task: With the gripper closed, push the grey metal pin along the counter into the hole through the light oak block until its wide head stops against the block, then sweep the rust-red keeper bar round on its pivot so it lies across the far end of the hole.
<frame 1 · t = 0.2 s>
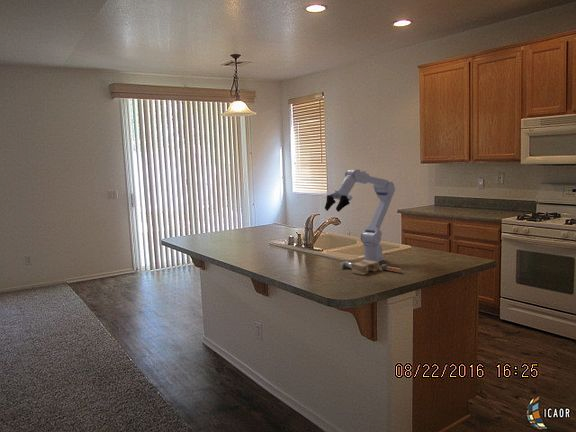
hand: (331, 209, 233), 30 cm above the countertop, tool tilted 45°, fingers open, 7 cm apart
keeper: (391, 268, 230), point 1 cm above the countertop, hinge at 90.0°
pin: (344, 267, 244), on the countertop
block: (365, 271, 233), on the countertop
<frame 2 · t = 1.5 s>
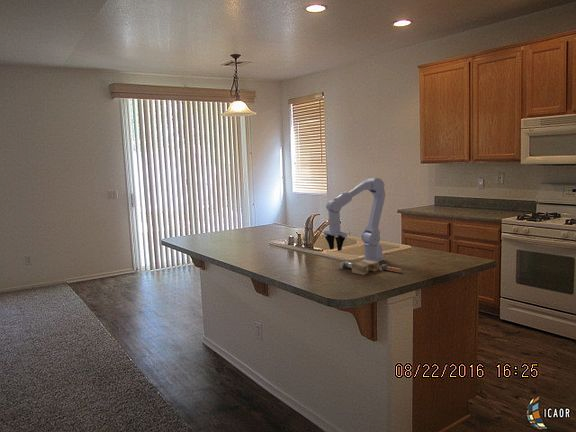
hand: (335, 249, 247), 8 cm above the countertop, tool pointing down, fingers open, 5 cm apart
nothing on the countertop moved.
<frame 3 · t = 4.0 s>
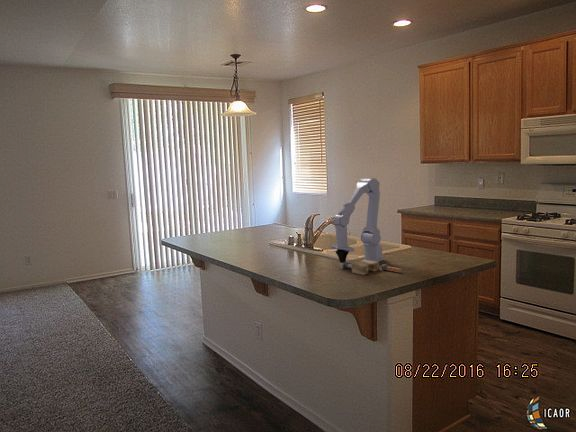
hand: (342, 264, 244), 1 cm above the countertop, tool pointing down, fingers closed
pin: (344, 267, 244), on the countertop, touching gripper
everything else where it was.
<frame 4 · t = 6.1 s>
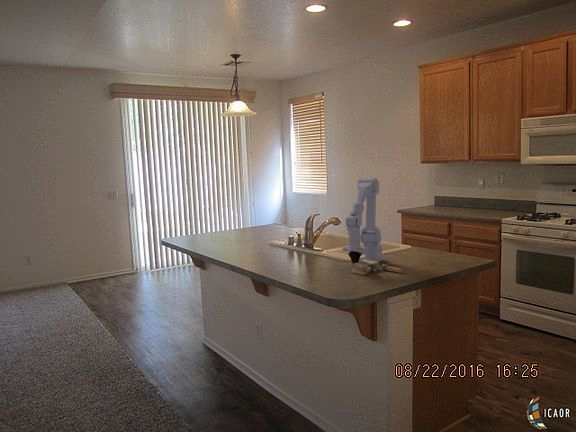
hand: (355, 266, 238), 1 cm above the countertop, tool pointing down, fingers closed
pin: (357, 269, 237), on the countertop, touching gripper
everything else where it was.
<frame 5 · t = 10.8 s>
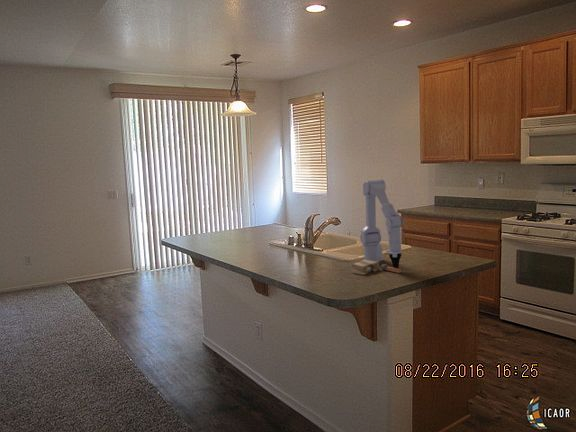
hand: (395, 269, 229), 1 cm above the countertop, tool pointing down, fingers closed, pressing on keeper
keeper: (391, 268, 230), point 1 cm above the countertop, hinge at 85.7°, touching gripper
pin: (357, 269, 237), on the countertop
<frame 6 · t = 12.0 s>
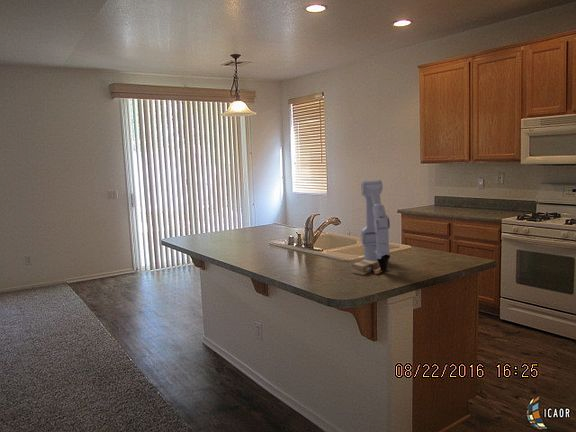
hand: (383, 270, 228), 1 cm above the countertop, tool pointing down, fingers closed, pressing on keeper
keeper: (380, 269, 230), point 1 cm above the countertop, hinge at 13.0°, touching gripper
everything else where it was.
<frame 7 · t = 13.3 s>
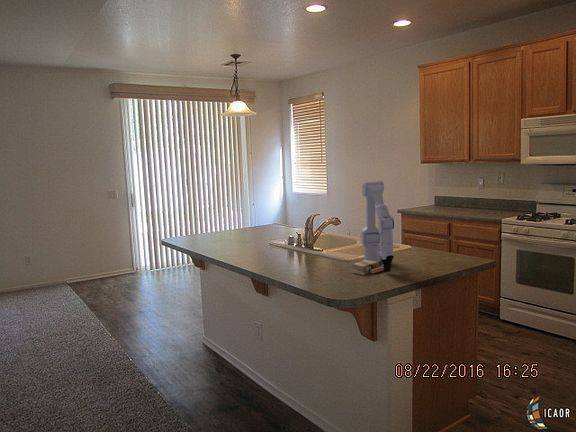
hand: (387, 271, 227), 1 cm above the countertop, tool pointing down, fingers closed
keeper: (379, 268, 230), point 1 cm above the countertop, hinge at -1.4°
everything else where it was.
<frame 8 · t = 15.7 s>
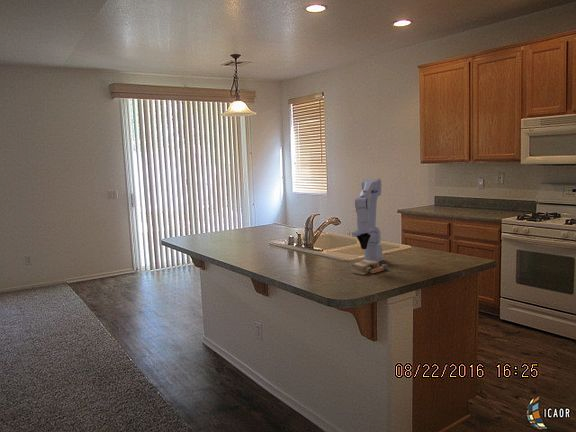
hand: (364, 248, 238), 10 cm above the countertop, tool pointing down, fingers closed
nothing on the countertop moved.
at the end: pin 0.0 cm from the target spot, on the countertop; keeper at -2° (first picture: +90°) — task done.
